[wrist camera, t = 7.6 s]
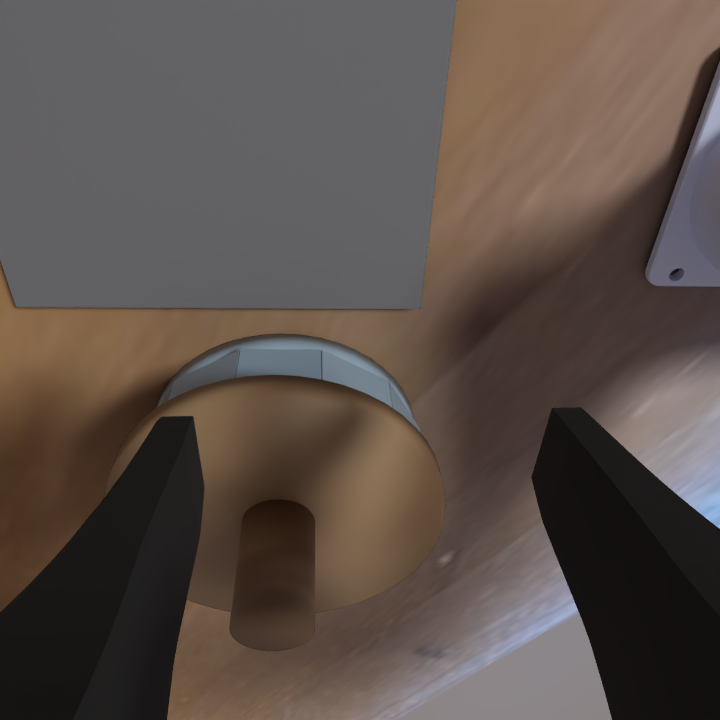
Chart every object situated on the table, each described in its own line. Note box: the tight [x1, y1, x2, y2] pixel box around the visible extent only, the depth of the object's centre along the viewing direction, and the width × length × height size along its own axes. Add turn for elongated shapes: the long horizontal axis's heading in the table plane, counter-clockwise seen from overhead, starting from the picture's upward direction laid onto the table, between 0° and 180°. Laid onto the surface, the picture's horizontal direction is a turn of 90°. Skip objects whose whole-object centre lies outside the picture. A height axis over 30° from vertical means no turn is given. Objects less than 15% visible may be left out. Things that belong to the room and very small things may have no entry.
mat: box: [0, 0, 457, 309], centre depth 18 cm, size 14×14×1 cm
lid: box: [104, 375, 446, 651], centre depth 21 cm, size 12×12×5 cm
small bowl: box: [156, 334, 421, 433], centre depth 25 cm, size 11×11×4 cm
